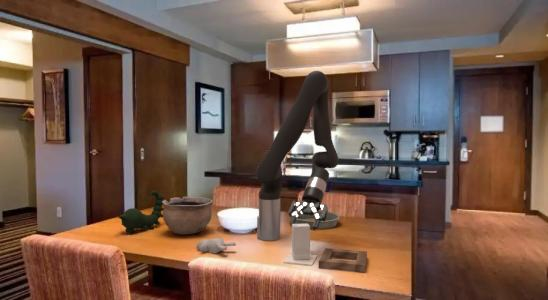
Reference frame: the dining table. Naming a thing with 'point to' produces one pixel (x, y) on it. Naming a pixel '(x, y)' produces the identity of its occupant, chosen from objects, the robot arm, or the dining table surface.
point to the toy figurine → (143, 216)
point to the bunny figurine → (213, 245)
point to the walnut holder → (343, 265)
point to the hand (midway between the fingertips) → (302, 227)
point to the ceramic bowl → (187, 214)
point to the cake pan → (330, 223)
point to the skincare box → (300, 241)
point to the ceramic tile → (301, 262)
